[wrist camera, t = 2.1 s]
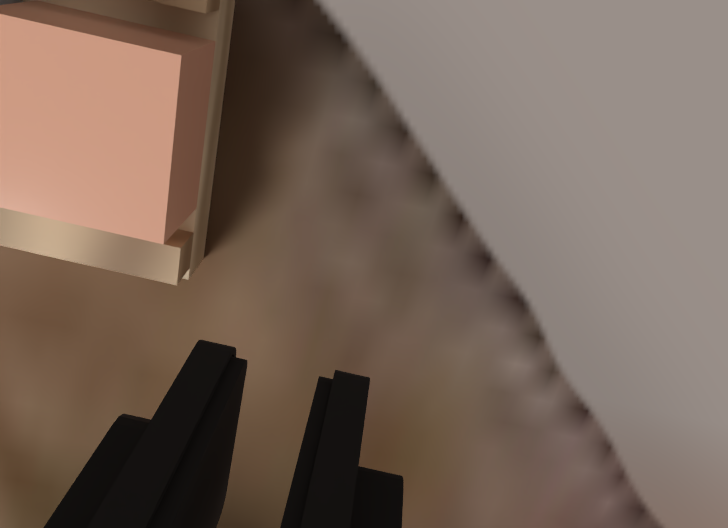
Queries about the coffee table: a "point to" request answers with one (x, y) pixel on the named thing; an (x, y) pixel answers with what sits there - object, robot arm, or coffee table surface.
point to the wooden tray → (187, 244)
